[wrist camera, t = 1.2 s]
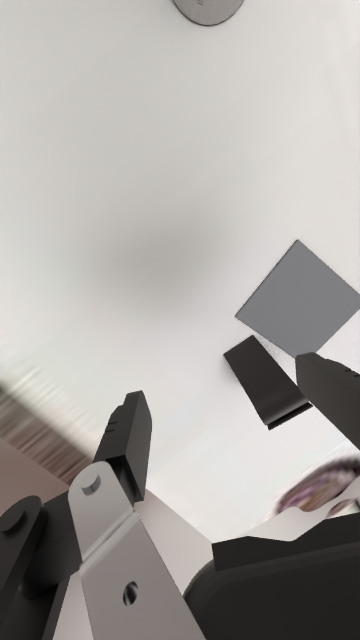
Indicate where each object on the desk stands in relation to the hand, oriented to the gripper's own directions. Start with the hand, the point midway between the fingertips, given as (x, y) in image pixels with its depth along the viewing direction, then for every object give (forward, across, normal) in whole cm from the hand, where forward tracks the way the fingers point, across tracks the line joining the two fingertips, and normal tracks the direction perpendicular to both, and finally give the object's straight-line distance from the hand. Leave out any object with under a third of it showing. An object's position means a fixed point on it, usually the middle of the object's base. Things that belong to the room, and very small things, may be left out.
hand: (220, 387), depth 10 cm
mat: (+22, -18, +5) cm, 28 cm away
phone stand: (+22, -9, +13) cm, 27 cm away
